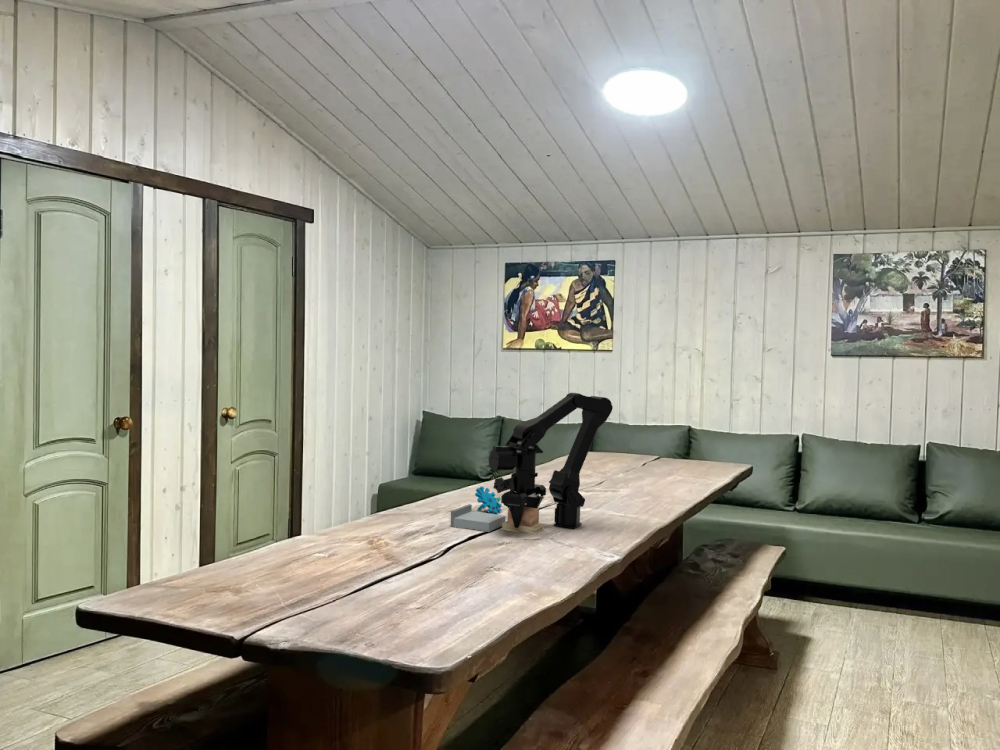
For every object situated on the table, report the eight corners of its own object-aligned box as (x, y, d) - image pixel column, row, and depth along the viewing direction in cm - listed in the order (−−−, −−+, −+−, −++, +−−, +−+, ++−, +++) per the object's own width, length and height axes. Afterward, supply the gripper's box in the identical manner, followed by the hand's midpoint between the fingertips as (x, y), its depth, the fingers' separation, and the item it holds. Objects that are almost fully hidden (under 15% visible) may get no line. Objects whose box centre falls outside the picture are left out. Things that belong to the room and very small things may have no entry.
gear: (487, 511, 238) (472, 484, 243) (475, 523, 241) (460, 496, 246) (510, 511, 247) (495, 485, 252) (498, 522, 249) (483, 496, 254)
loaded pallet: (543, 530, 224) (544, 509, 224) (535, 534, 219) (536, 513, 218) (510, 526, 228) (511, 505, 228) (502, 530, 223) (502, 508, 223)
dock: (505, 524, 230) (505, 509, 229) (488, 531, 220) (489, 516, 219) (468, 519, 235) (468, 504, 234) (450, 526, 225) (450, 510, 224)
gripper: (512, 462, 235) (510, 515, 235) (484, 470, 218) (482, 527, 218) (547, 466, 230) (545, 519, 231) (522, 474, 213) (520, 532, 214)
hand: (523, 524), depth 223 cm, fingers open, 9 cm apart
